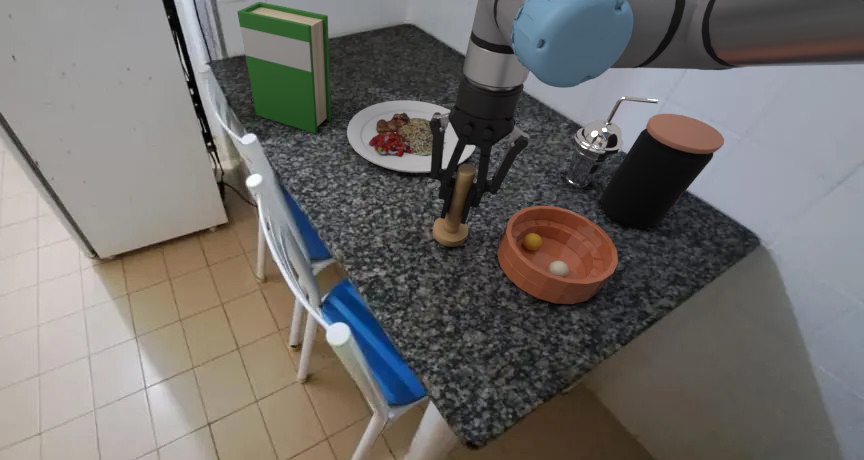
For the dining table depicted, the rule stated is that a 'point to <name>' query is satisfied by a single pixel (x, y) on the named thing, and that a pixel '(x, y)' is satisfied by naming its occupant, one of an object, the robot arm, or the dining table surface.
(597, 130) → the cup with straw
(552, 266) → the bead
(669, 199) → the coffee jar
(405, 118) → the plated food
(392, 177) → the dining table surface
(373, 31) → the dining table surface
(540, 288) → the bowl
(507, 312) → the dining table surface
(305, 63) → the hardback book
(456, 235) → the masher
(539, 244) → the bead
